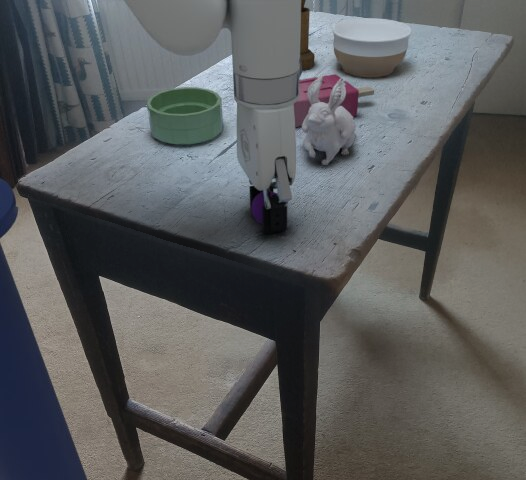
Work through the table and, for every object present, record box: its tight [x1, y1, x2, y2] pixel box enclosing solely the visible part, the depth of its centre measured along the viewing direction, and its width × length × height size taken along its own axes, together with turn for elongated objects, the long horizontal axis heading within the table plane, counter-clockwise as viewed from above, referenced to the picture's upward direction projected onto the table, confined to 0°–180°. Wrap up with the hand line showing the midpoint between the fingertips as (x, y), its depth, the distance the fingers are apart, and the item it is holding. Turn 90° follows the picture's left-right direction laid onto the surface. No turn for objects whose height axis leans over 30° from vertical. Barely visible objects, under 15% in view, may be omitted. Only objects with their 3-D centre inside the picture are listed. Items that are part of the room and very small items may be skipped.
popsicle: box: [293, 73, 375, 128], centre depth 105 cm, size 9×5×20 cm
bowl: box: [331, 17, 413, 78], centre depth 122 cm, size 16×16×8 cm
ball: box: [251, 191, 277, 224], centre depth 77 cm, size 4×4×4 cm
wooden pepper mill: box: [300, 0, 315, 71], centre depth 121 cm, size 7×6×18 cm
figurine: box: [301, 74, 357, 166], centre depth 91 cm, size 8×15×13 cm, turn 157°
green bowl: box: [146, 86, 224, 146], centre depth 99 cm, size 12×12×6 cm
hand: (268, 219), depth 78 cm, fingers open, 4 cm apart
